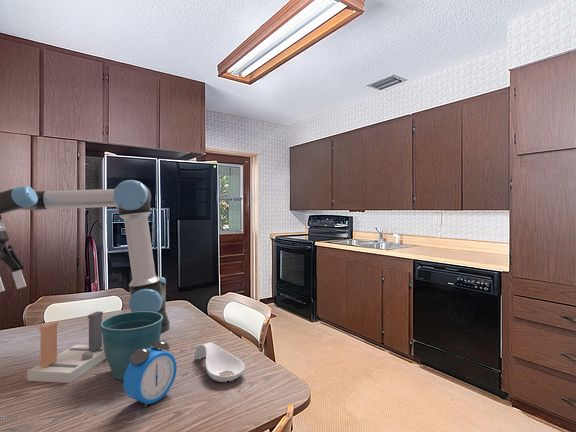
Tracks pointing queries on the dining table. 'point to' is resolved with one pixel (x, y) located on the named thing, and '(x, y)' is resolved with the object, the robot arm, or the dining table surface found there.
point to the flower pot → (128, 337)
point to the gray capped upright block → (95, 331)
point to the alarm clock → (150, 373)
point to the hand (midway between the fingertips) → (11, 289)
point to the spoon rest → (219, 362)
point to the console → (68, 365)
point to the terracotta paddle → (48, 344)
